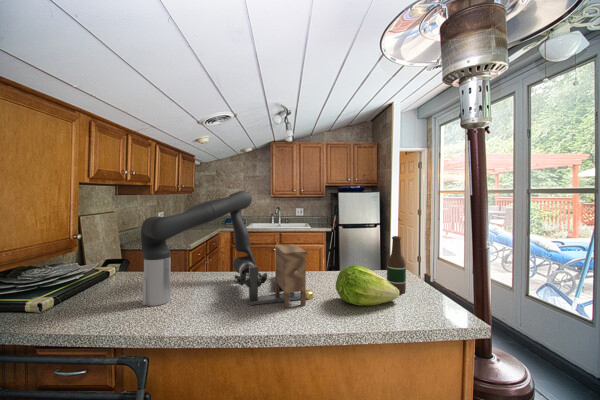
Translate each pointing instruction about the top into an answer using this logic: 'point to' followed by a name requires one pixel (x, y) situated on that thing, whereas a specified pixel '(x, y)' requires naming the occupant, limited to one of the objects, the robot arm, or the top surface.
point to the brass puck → (309, 294)
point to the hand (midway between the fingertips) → (254, 284)
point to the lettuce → (364, 287)
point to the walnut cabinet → (290, 271)
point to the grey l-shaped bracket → (265, 299)
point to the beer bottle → (396, 266)
